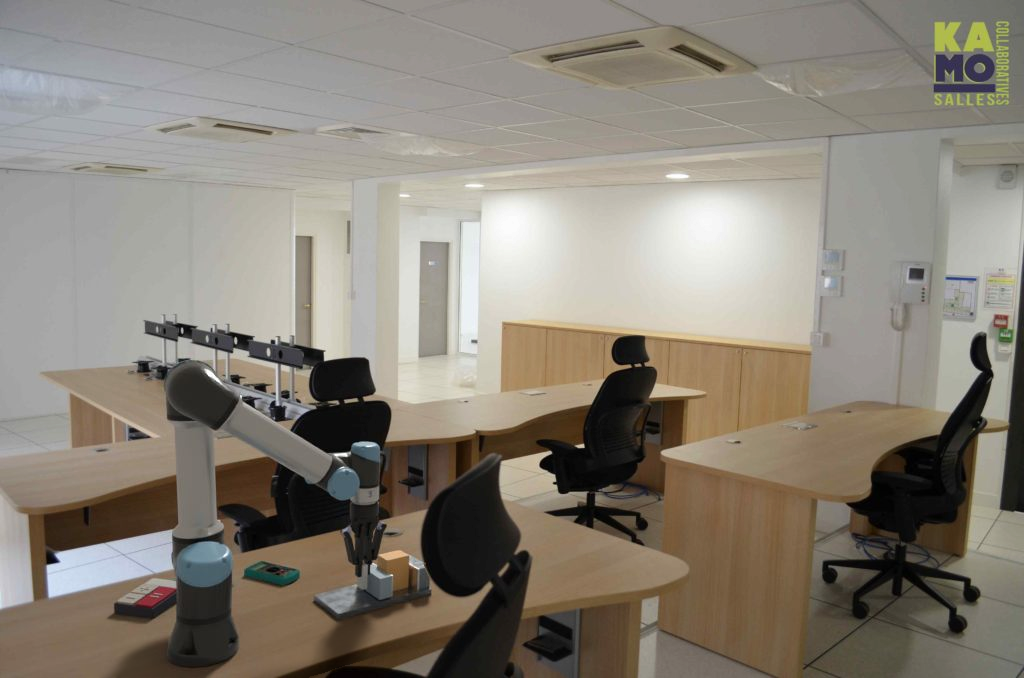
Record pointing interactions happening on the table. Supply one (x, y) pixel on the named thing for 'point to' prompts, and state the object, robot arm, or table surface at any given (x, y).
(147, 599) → the calculator
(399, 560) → the light orange block
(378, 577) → the block
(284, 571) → the digital multimeter
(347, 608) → the vise base
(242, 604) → the table surface
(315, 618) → the table surface
